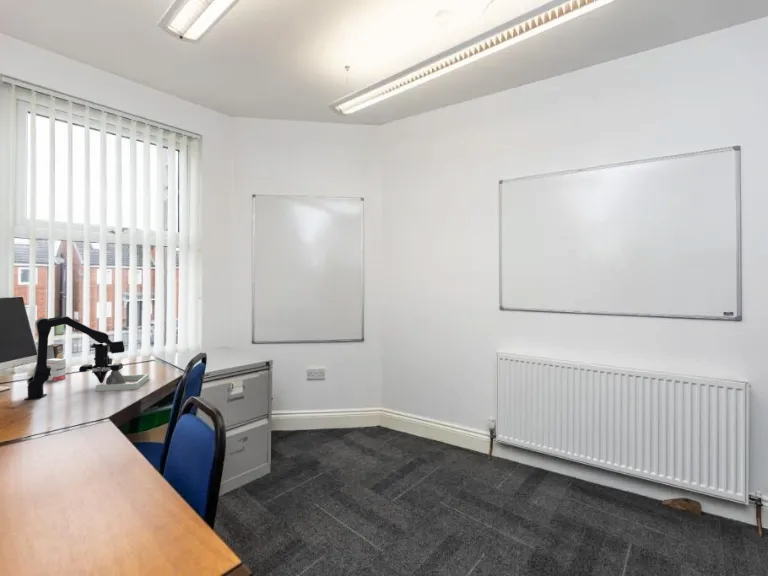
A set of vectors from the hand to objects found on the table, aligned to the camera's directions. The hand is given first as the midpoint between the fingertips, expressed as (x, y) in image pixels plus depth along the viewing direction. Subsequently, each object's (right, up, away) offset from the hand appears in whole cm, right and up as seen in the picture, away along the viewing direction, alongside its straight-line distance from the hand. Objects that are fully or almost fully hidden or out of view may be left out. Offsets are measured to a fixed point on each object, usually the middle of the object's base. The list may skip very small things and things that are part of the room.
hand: (101, 382), depth 207 cm
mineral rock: (+7, -2, +2) cm, 7 cm away
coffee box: (-53, 0, +30) cm, 61 cm away
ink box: (-35, -1, +11) cm, 37 cm away
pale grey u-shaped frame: (+10, -2, +3) cm, 11 cm away
